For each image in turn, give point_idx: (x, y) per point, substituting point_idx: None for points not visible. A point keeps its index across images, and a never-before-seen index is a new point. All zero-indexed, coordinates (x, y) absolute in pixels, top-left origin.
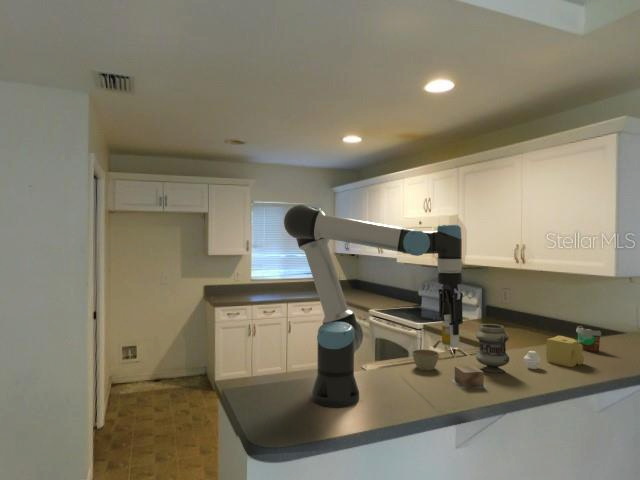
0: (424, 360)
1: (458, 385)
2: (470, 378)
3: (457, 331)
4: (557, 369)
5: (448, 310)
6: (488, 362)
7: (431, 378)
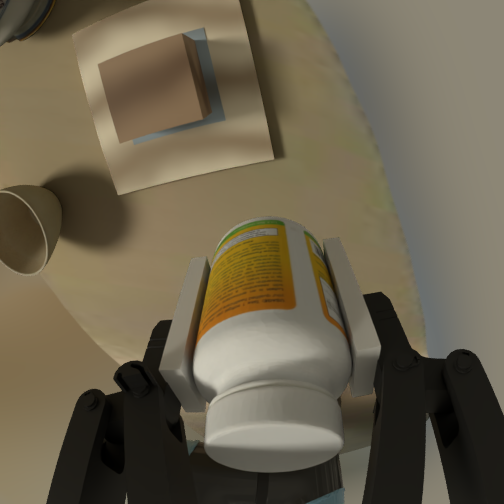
0: (54, 237)
1: (192, 128)
2: (200, 89)
3: (394, 319)
4: None
5: (178, 485)
6: (29, 7)
7: (107, 199)
